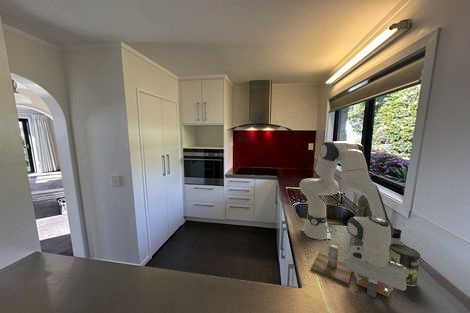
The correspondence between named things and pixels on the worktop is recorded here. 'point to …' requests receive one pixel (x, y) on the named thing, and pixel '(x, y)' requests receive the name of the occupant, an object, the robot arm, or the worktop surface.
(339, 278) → the post base
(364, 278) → the collar
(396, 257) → the coffee can
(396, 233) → the travel mug
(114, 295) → the worktop surface
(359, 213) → the thermos
